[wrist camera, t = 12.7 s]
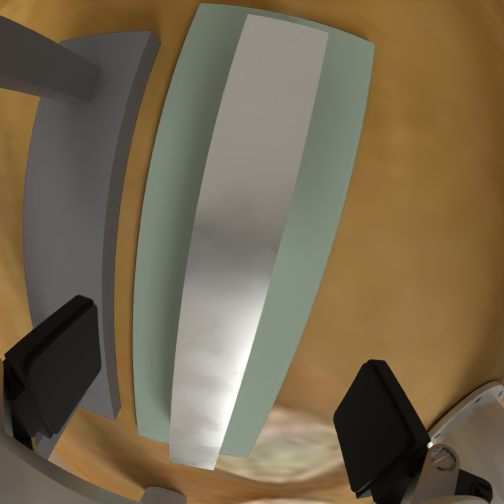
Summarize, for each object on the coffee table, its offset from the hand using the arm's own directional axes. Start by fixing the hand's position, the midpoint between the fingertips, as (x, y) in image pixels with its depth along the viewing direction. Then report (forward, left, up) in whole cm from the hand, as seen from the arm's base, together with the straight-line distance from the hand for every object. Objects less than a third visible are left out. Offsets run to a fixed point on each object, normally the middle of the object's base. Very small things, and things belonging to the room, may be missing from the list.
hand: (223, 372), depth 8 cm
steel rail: (+1, 0, -5) cm, 5 cm away
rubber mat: (+1, 0, -6) cm, 6 cm away
